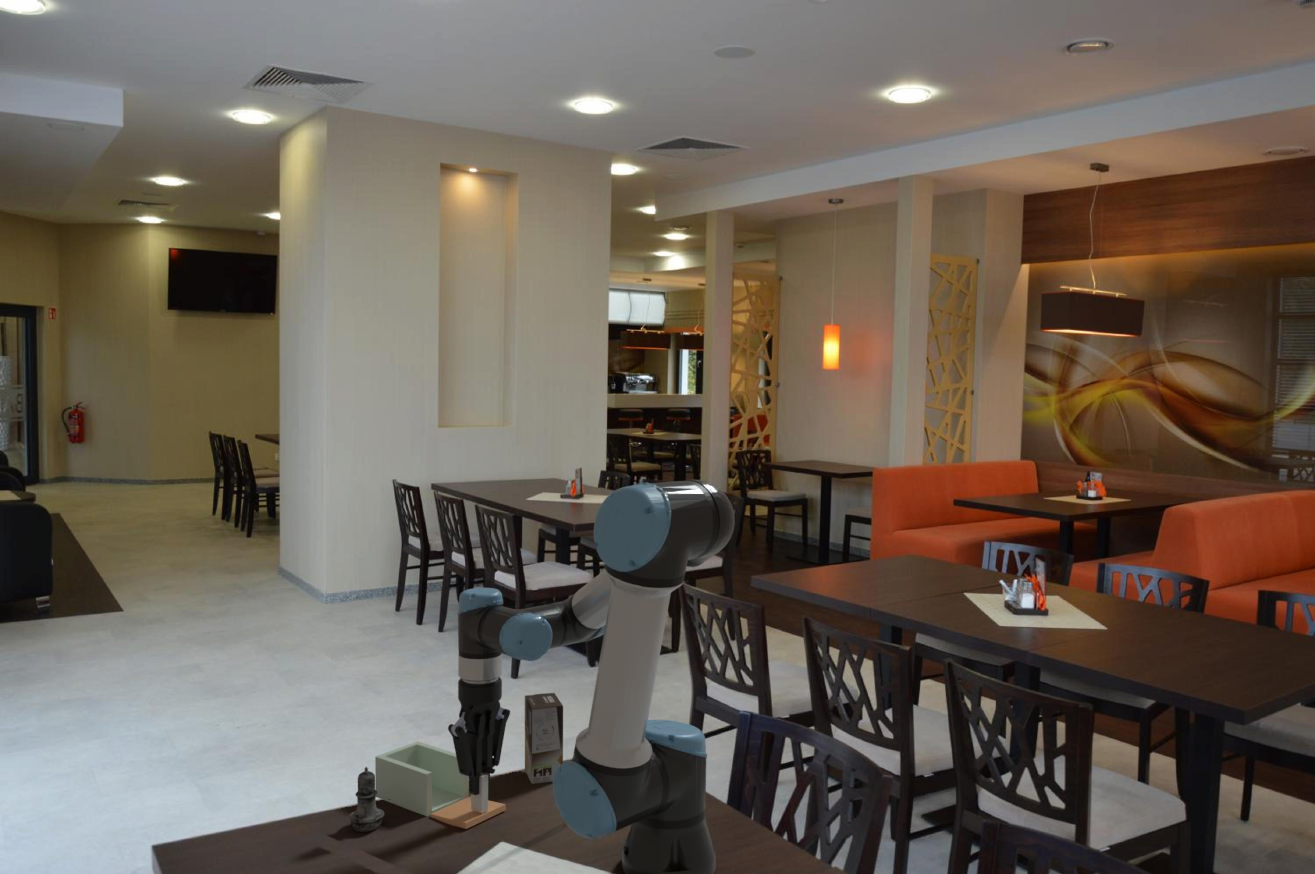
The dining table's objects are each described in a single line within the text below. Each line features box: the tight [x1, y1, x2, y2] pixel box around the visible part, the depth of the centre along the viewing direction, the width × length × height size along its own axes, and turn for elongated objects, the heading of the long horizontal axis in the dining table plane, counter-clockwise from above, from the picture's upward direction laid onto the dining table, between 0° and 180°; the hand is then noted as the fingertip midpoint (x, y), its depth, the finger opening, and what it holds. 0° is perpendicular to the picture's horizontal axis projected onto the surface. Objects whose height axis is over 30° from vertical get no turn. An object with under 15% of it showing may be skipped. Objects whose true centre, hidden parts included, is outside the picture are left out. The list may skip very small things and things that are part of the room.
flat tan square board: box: [429, 795, 507, 830], centre depth 176 cm, size 1×10×9 cm
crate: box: [374, 741, 470, 817], centre depth 183 cm, size 14×10×9 cm
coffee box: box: [524, 692, 564, 785], centre depth 195 cm, size 9×6×16 cm
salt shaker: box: [348, 766, 385, 833], centre depth 170 cm, size 6×6×12 cm
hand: (479, 809), depth 174 cm, fingers closed
